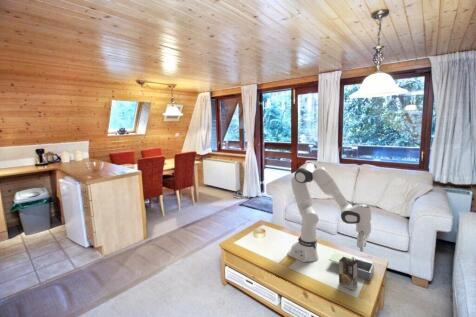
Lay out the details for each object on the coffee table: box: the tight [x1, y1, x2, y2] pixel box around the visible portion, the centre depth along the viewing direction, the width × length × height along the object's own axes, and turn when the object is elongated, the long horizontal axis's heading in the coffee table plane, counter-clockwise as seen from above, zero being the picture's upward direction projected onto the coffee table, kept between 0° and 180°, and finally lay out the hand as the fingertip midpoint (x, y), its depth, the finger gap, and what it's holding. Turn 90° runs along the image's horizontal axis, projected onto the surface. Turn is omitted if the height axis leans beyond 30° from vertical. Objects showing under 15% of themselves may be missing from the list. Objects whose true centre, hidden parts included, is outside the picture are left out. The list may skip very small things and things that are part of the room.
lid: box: [328, 251, 357, 264], centre depth 169 cm, size 15×13×3 cm
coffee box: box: [338, 257, 358, 291], centre depth 149 cm, size 9×6×16 cm
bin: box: [355, 258, 375, 282], centre depth 162 cm, size 15×13×5 cm
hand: (363, 248), depth 160 cm, fingers open, 7 cm apart
